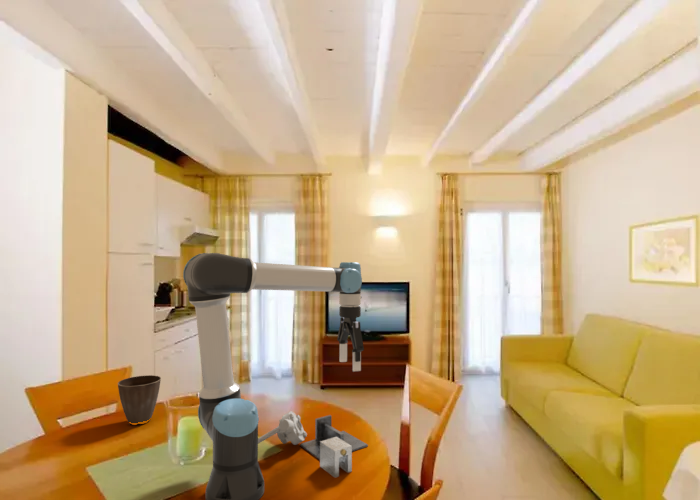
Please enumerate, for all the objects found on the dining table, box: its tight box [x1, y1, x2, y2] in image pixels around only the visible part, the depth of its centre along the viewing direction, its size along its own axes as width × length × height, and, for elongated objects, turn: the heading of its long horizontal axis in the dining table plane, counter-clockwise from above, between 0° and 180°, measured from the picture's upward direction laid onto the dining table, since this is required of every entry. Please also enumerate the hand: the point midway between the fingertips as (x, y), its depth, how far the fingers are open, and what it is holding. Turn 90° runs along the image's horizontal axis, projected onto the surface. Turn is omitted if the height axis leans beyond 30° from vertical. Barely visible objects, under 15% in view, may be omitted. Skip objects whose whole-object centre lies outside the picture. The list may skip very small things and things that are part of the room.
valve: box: [258, 410, 308, 446], centre depth 138 cm, size 10×18×15 cm
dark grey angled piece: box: [299, 414, 369, 461], centre depth 139 cm, size 18×14×8 cm
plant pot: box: [117, 374, 162, 423], centre depth 160 cm, size 15×15×16 cm
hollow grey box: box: [319, 437, 353, 478], centre depth 124 cm, size 6×8×8 cm
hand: (349, 366), depth 146 cm, fingers open, 13 cm apart
